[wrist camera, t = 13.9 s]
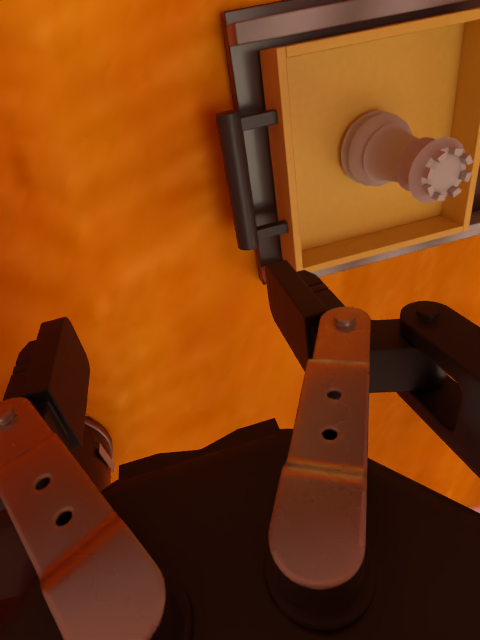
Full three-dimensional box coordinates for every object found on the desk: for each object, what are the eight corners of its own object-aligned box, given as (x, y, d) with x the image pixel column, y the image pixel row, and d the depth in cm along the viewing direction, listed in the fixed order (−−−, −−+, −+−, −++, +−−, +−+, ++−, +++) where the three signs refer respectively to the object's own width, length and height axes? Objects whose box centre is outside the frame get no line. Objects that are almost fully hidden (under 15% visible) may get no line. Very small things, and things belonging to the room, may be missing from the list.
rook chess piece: (380, 189, 28) (458, 228, 22) (326, 172, 27) (392, 208, 20) (412, 122, 26) (507, 142, 20) (355, 98, 25) (439, 112, 18)
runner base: (259, 279, 32) (271, 297, 30) (219, 13, 23) (232, 7, 20) (537, 206, 35) (569, 217, 32) (606, -59, 25) (658, -72, 23)
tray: (237, 269, 30) (248, 289, 27) (200, 61, 22) (210, 61, 20) (440, 217, 32) (468, 230, 29) (466, 8, 24) (506, 2, 22)
